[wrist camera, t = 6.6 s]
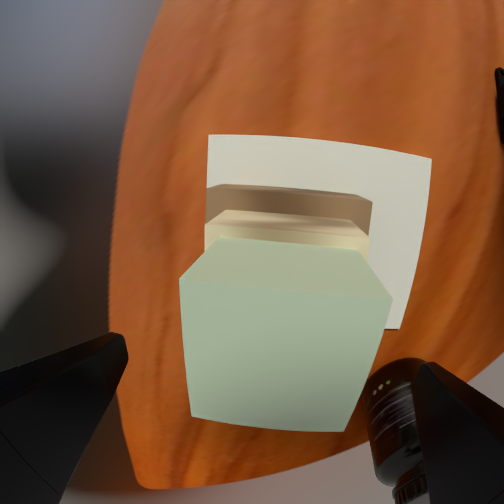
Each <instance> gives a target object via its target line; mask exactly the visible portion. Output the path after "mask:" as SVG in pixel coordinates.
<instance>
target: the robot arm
mask: <svg viewBox="0 0 504 504" xmlns="http://www.w3.org/2000/svg"><path fill="white" fill-rule="evenodd" d="M495 73H496V80H497V88H498V97H499V108H500V126H501V141H502V143H503V144H504V69H502V68H500V67H499V68H496V69H495ZM500 73H501V74H500ZM127 363H128V352H127V347H126V343H125V339H124V337H123V335H121V334H118V333H114V332H110V333H107V334H104V335H102V336H100V337H96V338H94V339H91V340H89V341H86V342H83V343H80V344H78V345H75V346H72V347H69V348H67V349H64V350H61V351H59V352H56V353H53V354H50V355H47V356H45V357H42V358H39V359H36V360H33V361H30V362H28V363H25V364H22V365H20V366H16V367H13V368H10V369H7V370H4V371H1V372H0V504H59V502H60V500H61V498H62V495H63V493H64V491H65V489H66V487H67V485H68V483H69V481H70V479H71V476H72V475H73V473H74V471H75V469H76V467H77V465H78V463H79V461H80V459H81V457H82V455H83V453H84V451H85V449H86V447H87V445H88V443H89V441H90V439H91V437H92V435H93V434H94V432H95V430H96V428H97V426H98V424H99V422H100V421H101V419H102V417H103V415H104V413H105V411H106V410H107V408H108V406H109V404H110V402H111V400H112V398H113V396H114V394H115V391H116V389H117V386H118V384H119V382H120V379H121V377H122V375H123V372H124V370H125V368H126V365H127ZM411 390H412V397H413V404H414V411H415V419H416V426H417V432H418V437H419V442H420V446H421V451H422V456H423V461H424V467H425V473H426V479H427V485H428V492H429V500H430V504H504V408H503V407H501V406H500V405H498V404H497V403H495V402H494V401H492V400H491V399H489V398H488V397H486V396H485V395H483V394H482V393H480V392H479V391H477V390H476V389H474V388H473V387H471V386H470V385H468V384H467V383H465V382H464V381H462V380H461V379H459V378H458V377H456V376H455V375H453V374H452V373H450V372H449V371H447V370H446V369H444V368H443V367H441V366H440V365H438V364H437V363H435V362H424V363H422V364H421V365H420V367H419V369H418V371H417V374H416V376H415V378H414V380H413V382H412V387H411Z"/></svg>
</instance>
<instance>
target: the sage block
mask: <svg viewBox="0 0 504 504" xmlns="http://www.w3.org/2000/svg"><path fill="white" fill-rule="evenodd" d="M179 287H180V305H181V321H182V334H183V346H184V356H185V366H186V376H187V384H188V392H189V400H190V408H191V415H192V416H193V417H197V418H202V419H207V420H212V421H218V422H223V423H229V424H236V425H243V426H250V427H258V428H267V429H278V430H291V431H312V432H344V430H345V428H346V426H347V424H348V421H349V419H350V417H351V415H352V413H353V411H354V408H355V406H356V404H357V401H358V399H359V397H360V394H361V392H362V390H363V387H364V385H365V382H366V380H367V377H368V375H369V372H370V369H371V367H372V364H373V361H374V358H375V356H376V353H377V350H378V347H379V344H380V341H381V338H382V335H383V332H384V329H385V325H386V322H387V319H388V315H389V312H390V308H391V305H392V301H393V298H392V297H391V295H390V294H389V292H388V291H387V290H386V288H385V287H384V285H383V284H382V283H381V281H380V280H379V278H378V277H377V276H376V274H375V273H374V271H373V270H372V269H371V267H370V266H369V265H368V263H367V262H366V260H365V259H364V258H363V256H362V255H361V254H360V252H359V251H358V250H357V249H347V248H337V247H327V246H317V245H306V244H296V243H285V242H274V241H263V240H252V239H241V238H229V237H219V238H218V239H217V240H216V241H215V242H214V243H213V244H212V245H211V246H210V247H209V248H208V249H207V250H206V251H205V252H204V253H203V254H202V255H201V256H200V257H199V258H198V259H197V261H196V262H195V263H194V264H193V265H192V266H191V267H190V268H189V269H188V270H187V271H186V272H185V273H184V274H183V275H182V276H181V277H180V278H179Z"/></svg>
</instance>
